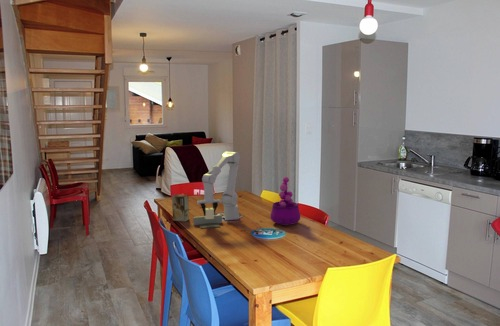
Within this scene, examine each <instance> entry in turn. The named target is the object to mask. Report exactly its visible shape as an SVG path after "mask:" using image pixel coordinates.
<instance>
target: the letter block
mask: <svg viewBox="0 0 500 326" xmlns="http://www.w3.org/2000/svg"><path fill="white" fill-rule="evenodd" d="M205 213H206V216H204V215H203V216H204V217H205V219H214V209H213V206H211V207H210V206H209V207H205Z"/></svg>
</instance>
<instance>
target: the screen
mask: <svg viewBox="0 0 500 326" xmlns="http://www.w3.org/2000/svg"><path fill="white" fill-rule="evenodd" d="M192 217H193V220H192V223H193V224H192V225H193V226H199V224H209V223H218V224H222V223H223V215H222V214H218V215H217V214H216V215H214V219H205V217H204V215H203V216H201V215H200V216H192Z"/></svg>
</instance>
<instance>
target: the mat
mask: <svg viewBox="0 0 500 326" xmlns="http://www.w3.org/2000/svg"><path fill="white" fill-rule="evenodd" d="M198 227H199V228H200V230H202V229H203V230H204V229H213V228H221V225H220V223H209V224H199V225H198Z"/></svg>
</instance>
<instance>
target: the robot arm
mask: <svg viewBox="0 0 500 326" xmlns="http://www.w3.org/2000/svg"><path fill="white" fill-rule="evenodd" d="M240 160H241V155H240V154H239V152H237V151H227V150H226V151H224V152H223V153H222V155H221V158H220V159H219V161H218V163H217V164H216V165H213V166H212V167H211V168H210V169H209V170H208V172H207V173H205V174H203V176H202V178H201V181H202V185H203V194H204V195H203V197H204V198H203V199H202V200H196V205H200V207H201V208H202V211H203V216H206V213H205V208H207V207H206V205H208V204H209V205H210V204H212V208H213V209H214V215H215V214H216V210H217V208H218V206H219V204H222V205H223V216H224V218H225V220H224V221H232V220H233V221H234V220H240V218H239V215H240V212H239V211H240V210H239V205H238V199H239V198H238V193H237V192H236V190H235V189H236V184H237V183H236V182H237V177H238V176H237V175H238V172H239V171H238V170H239V165H240ZM225 165H228V166H229V171H228V178H227V183H226V184H227V185H226V190H224V192H222V196H221V197H220V199H217V198H215V196H214V194H215V190H214V187H215V182H216V180H217V177H218V176H219V175H220V173H221V172H222V168H224V166H225Z"/></svg>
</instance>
